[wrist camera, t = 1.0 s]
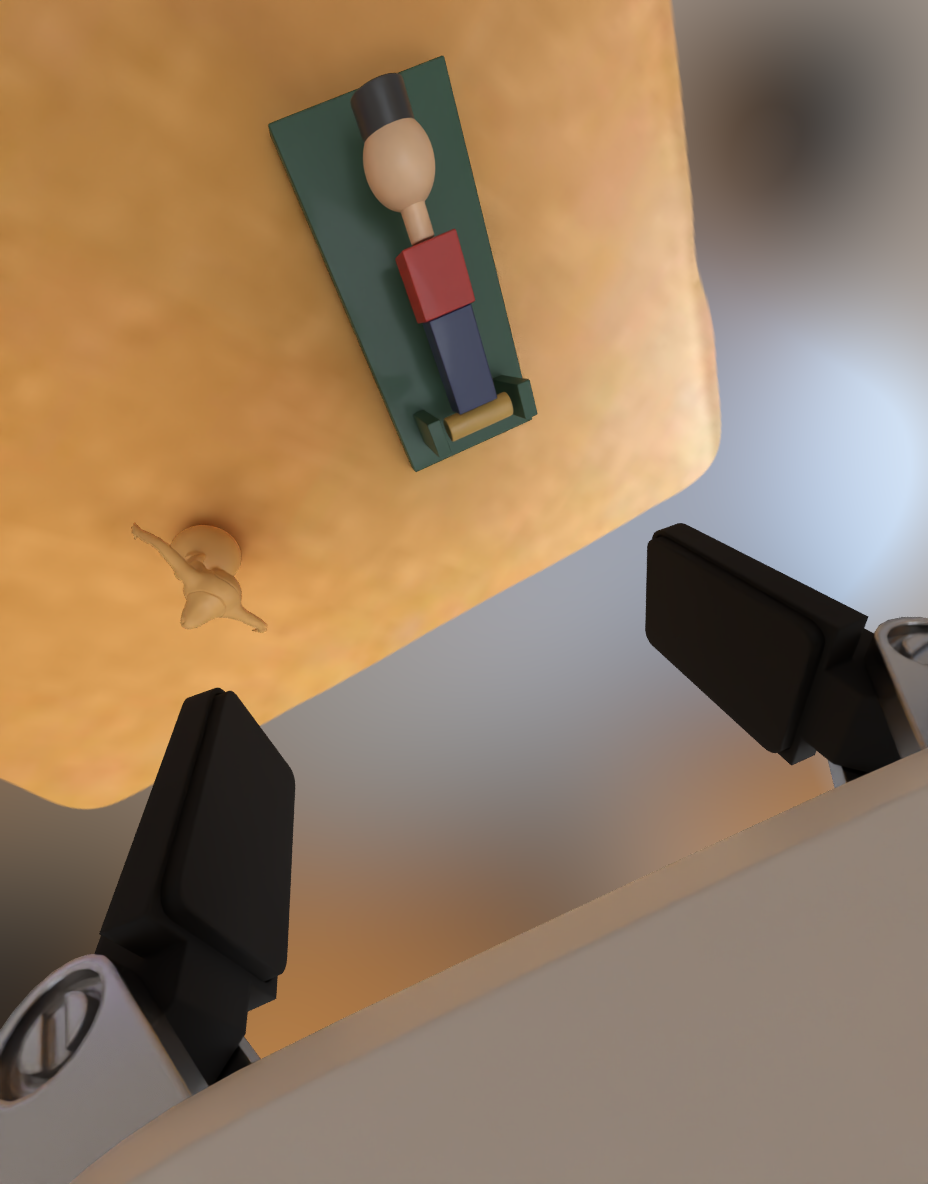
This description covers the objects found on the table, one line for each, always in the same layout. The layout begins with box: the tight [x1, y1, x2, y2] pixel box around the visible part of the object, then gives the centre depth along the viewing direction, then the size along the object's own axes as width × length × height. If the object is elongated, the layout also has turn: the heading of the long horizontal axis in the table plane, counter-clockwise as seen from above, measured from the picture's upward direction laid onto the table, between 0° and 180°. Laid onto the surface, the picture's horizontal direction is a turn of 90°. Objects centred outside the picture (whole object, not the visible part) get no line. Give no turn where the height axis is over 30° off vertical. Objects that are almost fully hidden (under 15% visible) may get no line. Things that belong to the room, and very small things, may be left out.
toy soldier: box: [350, 73, 513, 441], centre depth 22 cm, size 14×4×3 cm, turn 19°
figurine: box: [131, 523, 267, 633], centre depth 24 cm, size 8×6×12 cm
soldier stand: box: [268, 56, 537, 472], centre depth 24 cm, size 18×9×6 cm, turn 19°
